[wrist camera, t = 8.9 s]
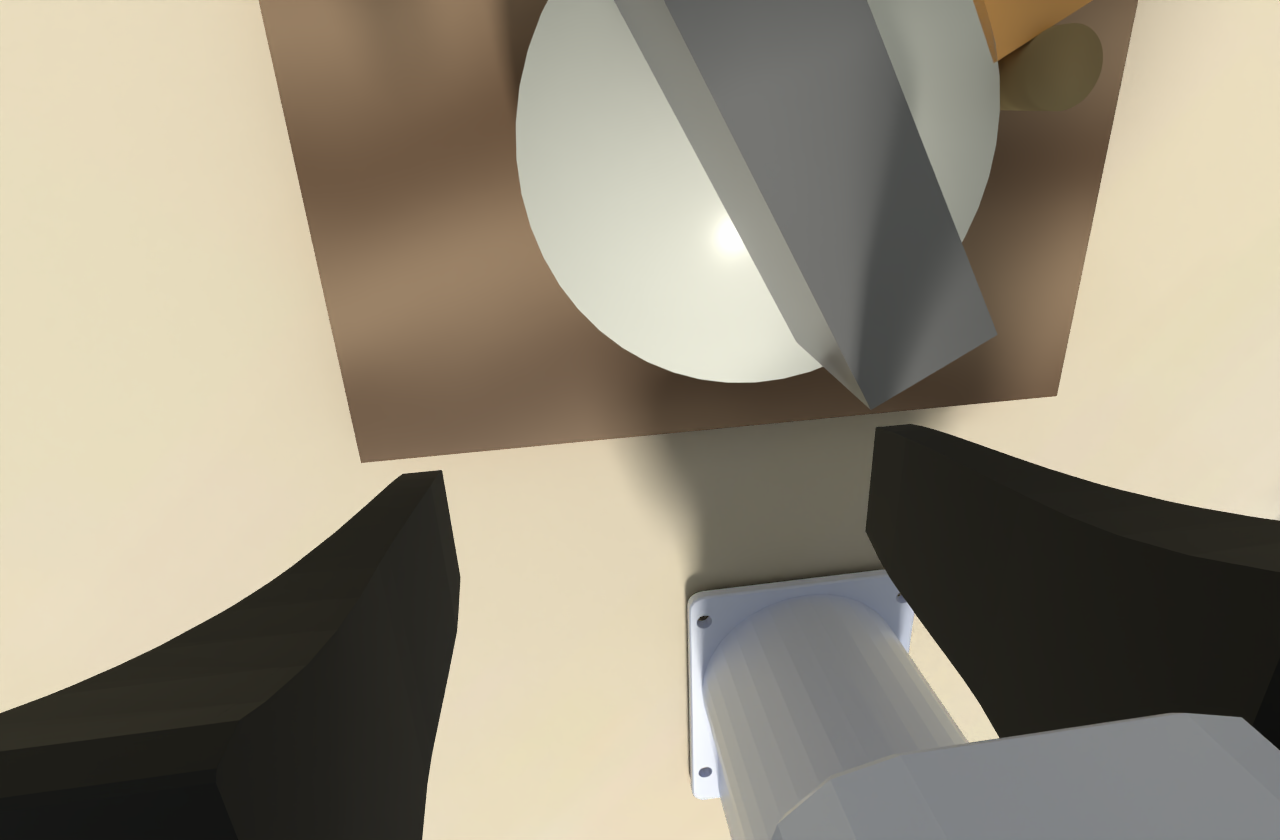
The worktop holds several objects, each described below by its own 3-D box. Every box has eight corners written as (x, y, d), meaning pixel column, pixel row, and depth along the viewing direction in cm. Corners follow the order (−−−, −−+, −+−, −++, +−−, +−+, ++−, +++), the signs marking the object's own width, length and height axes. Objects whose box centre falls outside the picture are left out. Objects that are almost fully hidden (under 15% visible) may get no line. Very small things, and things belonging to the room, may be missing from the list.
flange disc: (669, 441, 18) (716, 555, 14) (413, 59, 14) (357, 40, 10) (1115, 170, 17) (1329, 195, 12) (975, -335, 13) (1216, -572, 8)
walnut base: (1025, 378, 23) (1141, 443, 19) (372, 439, 21) (330, 528, 16) (1137, -228, 17) (1349, -343, 13) (231, -231, 15) (104, -369, 10)
